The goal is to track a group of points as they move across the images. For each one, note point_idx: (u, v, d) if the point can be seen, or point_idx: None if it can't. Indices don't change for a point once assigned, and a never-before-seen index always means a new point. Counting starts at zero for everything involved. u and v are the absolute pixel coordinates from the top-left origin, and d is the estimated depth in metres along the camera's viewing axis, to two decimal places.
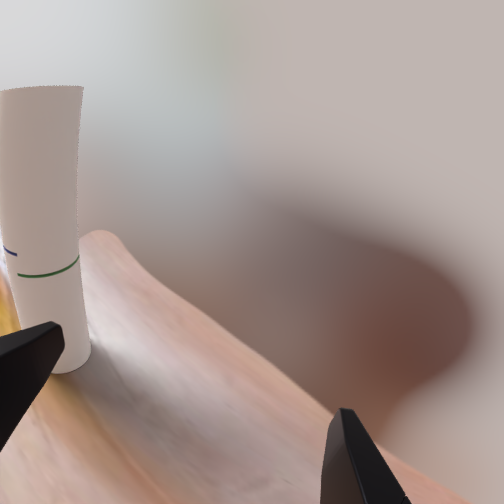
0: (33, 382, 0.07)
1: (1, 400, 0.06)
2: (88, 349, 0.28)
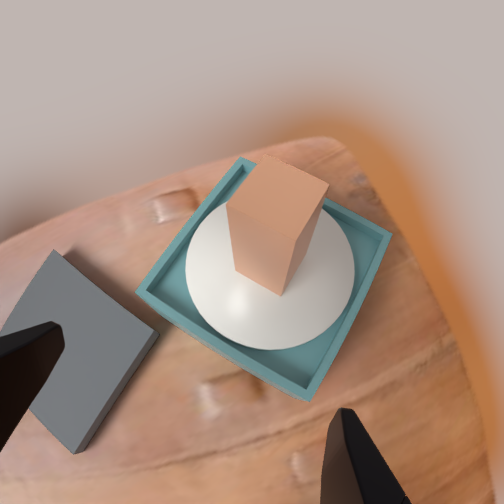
0: (33, 382, 0.07)
1: (1, 400, 0.06)
2: None
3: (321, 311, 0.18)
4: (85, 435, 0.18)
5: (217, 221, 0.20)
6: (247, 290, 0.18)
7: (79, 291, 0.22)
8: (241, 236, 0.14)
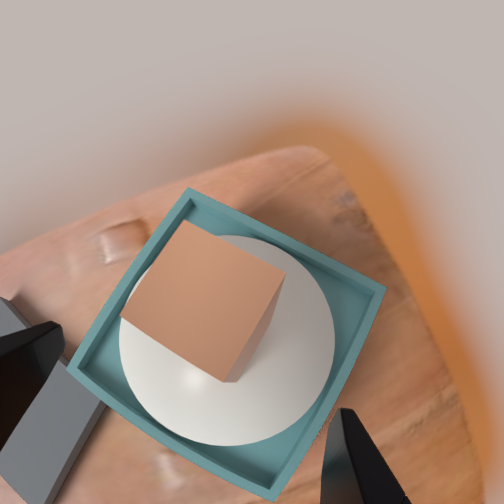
0: (33, 382, 0.07)
1: (1, 400, 0.06)
2: None
3: (288, 400, 0.13)
4: (47, 498, 0.13)
5: None
6: (194, 374, 0.13)
7: None
8: None
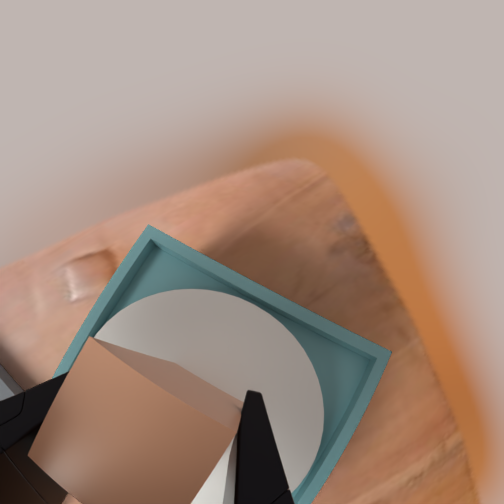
0: None
1: None
2: None
3: None
4: None
5: None
6: None
7: None
8: None
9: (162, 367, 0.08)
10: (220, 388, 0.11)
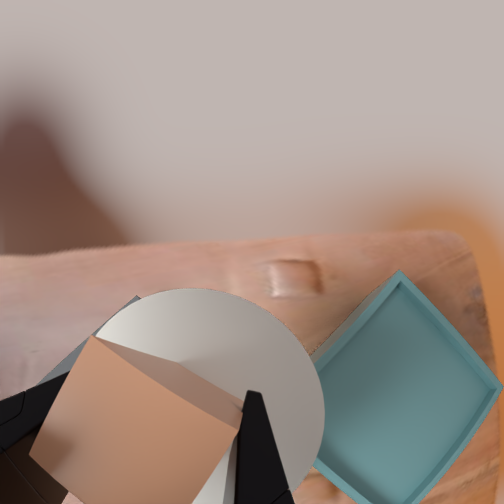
0: None
1: None
2: None
3: None
4: None
5: None
6: None
7: None
8: None
9: (163, 366, 0.08)
10: (221, 387, 0.11)
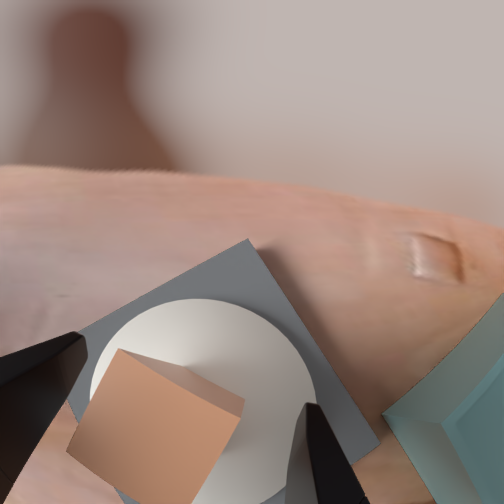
0: (57, 396, 0.07)
1: (24, 416, 0.06)
2: None
3: (268, 473, 0.11)
4: None
5: None
6: None
7: None
8: None
9: (174, 370, 0.09)
10: (223, 387, 0.13)
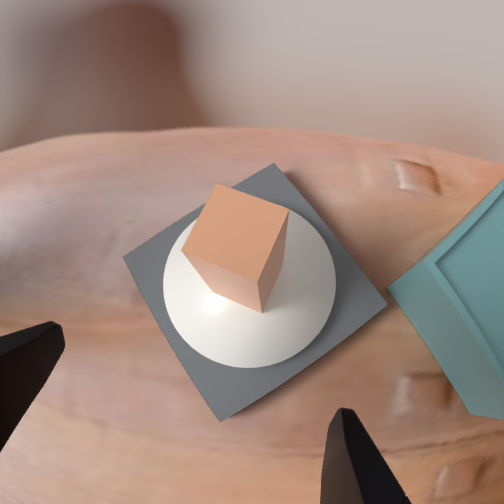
0: (33, 382, 0.07)
1: (1, 400, 0.06)
2: None
3: (304, 323, 0.17)
4: (250, 403, 0.17)
5: None
6: (228, 311, 0.18)
7: None
8: (206, 272, 0.13)
9: None
10: None
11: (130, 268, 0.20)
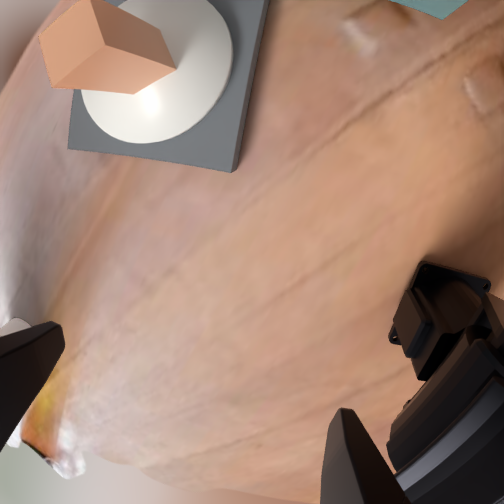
0: (33, 382, 0.07)
1: (1, 400, 0.06)
2: (13, 321, 0.28)
3: (212, 45, 0.15)
4: (237, 136, 0.17)
5: None
6: (154, 93, 0.16)
7: None
8: (91, 82, 0.12)
9: None
10: None
11: (78, 148, 0.19)
